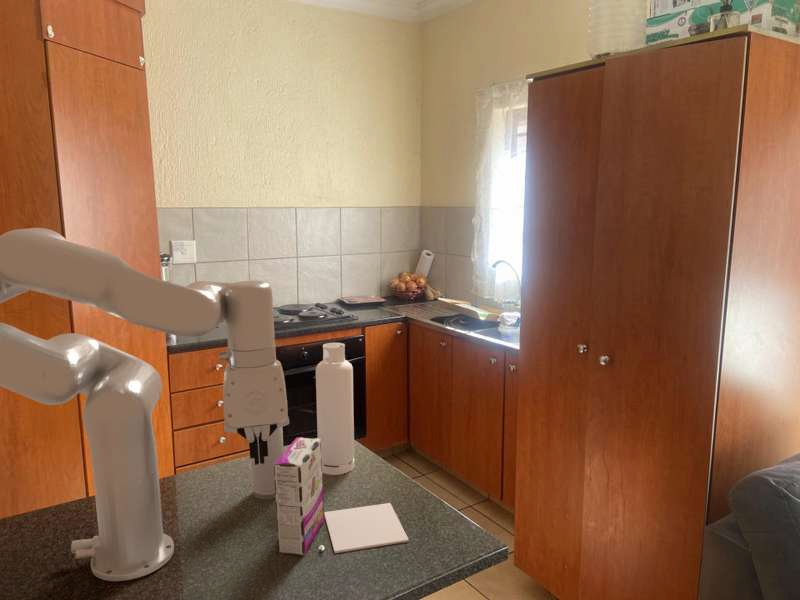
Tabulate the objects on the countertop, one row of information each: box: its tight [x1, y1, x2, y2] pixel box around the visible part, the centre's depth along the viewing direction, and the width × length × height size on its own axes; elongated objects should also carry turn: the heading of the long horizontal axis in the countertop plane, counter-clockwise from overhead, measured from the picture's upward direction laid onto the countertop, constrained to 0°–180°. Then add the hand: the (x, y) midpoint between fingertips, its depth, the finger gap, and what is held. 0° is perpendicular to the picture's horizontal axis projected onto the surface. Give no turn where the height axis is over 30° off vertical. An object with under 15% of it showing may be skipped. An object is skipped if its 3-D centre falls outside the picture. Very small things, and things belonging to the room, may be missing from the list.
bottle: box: [315, 342, 355, 476], centre depth 128 cm, size 8×8×28 cm
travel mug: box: [251, 426, 284, 501], centre depth 117 cm, size 6×7×20 cm
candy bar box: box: [274, 436, 325, 556], centre depth 102 cm, size 11×5×16 cm, turn 170°
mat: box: [324, 502, 410, 554], centre depth 106 cm, size 13×13×1 cm
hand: (259, 460), depth 99 cm, fingers closed
